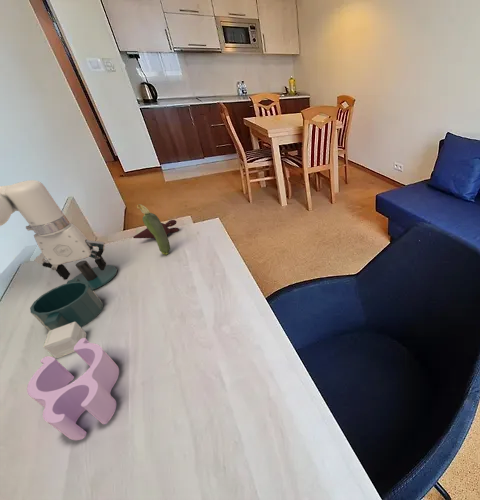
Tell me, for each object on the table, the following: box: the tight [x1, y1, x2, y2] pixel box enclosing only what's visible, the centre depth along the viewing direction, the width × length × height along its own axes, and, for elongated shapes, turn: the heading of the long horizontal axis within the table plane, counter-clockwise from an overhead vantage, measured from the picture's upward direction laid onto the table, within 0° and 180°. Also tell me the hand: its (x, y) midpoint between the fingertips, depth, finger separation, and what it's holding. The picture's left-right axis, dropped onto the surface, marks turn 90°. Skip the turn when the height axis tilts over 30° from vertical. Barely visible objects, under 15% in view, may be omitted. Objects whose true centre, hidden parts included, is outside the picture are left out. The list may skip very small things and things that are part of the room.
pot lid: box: [72, 259, 118, 291], centre depth 95 cm, size 13×13×7 cm
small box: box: [42, 322, 87, 359], centre depth 74 cm, size 6×6×5 cm
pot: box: [29, 278, 104, 332], centre depth 81 cm, size 12×18×8 cm
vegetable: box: [136, 204, 171, 256], centre depth 100 cm, size 4×4×20 cm
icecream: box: [133, 219, 180, 239], centre depth 114 cm, size 7×7×15 cm
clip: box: [26, 337, 120, 441], centre depth 61 cm, size 20×12×7 cm, turn 43°
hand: (85, 272), depth 94 cm, fingers open, 9 cm apart
